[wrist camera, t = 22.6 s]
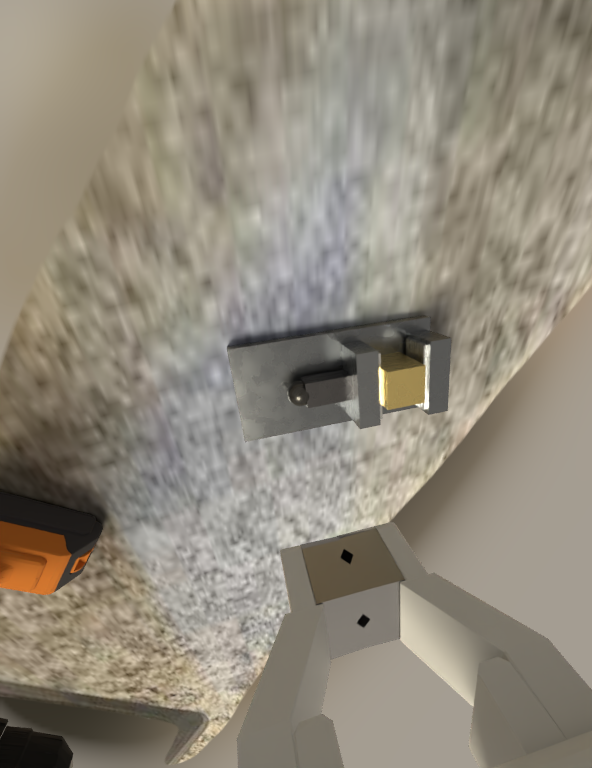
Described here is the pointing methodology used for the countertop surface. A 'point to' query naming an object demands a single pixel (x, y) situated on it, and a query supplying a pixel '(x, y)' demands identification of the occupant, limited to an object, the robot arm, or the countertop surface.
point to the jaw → (346, 385)
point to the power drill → (41, 576)
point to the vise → (324, 354)
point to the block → (401, 381)
